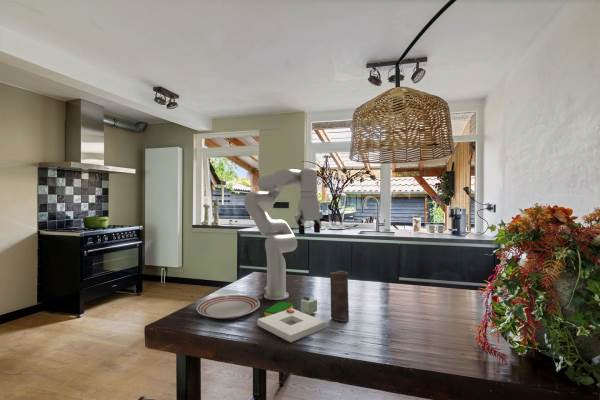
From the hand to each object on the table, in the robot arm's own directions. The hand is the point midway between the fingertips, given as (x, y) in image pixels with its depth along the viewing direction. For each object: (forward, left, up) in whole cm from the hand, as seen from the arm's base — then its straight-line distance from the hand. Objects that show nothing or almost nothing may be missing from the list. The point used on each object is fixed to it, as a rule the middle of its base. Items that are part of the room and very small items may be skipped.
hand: (309, 233), depth 139 cm
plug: (+3, -3, -34) cm, 35 cm away
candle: (+17, +1, -35) cm, 39 cm away
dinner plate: (-23, -28, -35) cm, 50 cm away
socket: (+9, -18, -34) cm, 40 cm away
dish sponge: (-8, -12, -35) cm, 38 cm away
